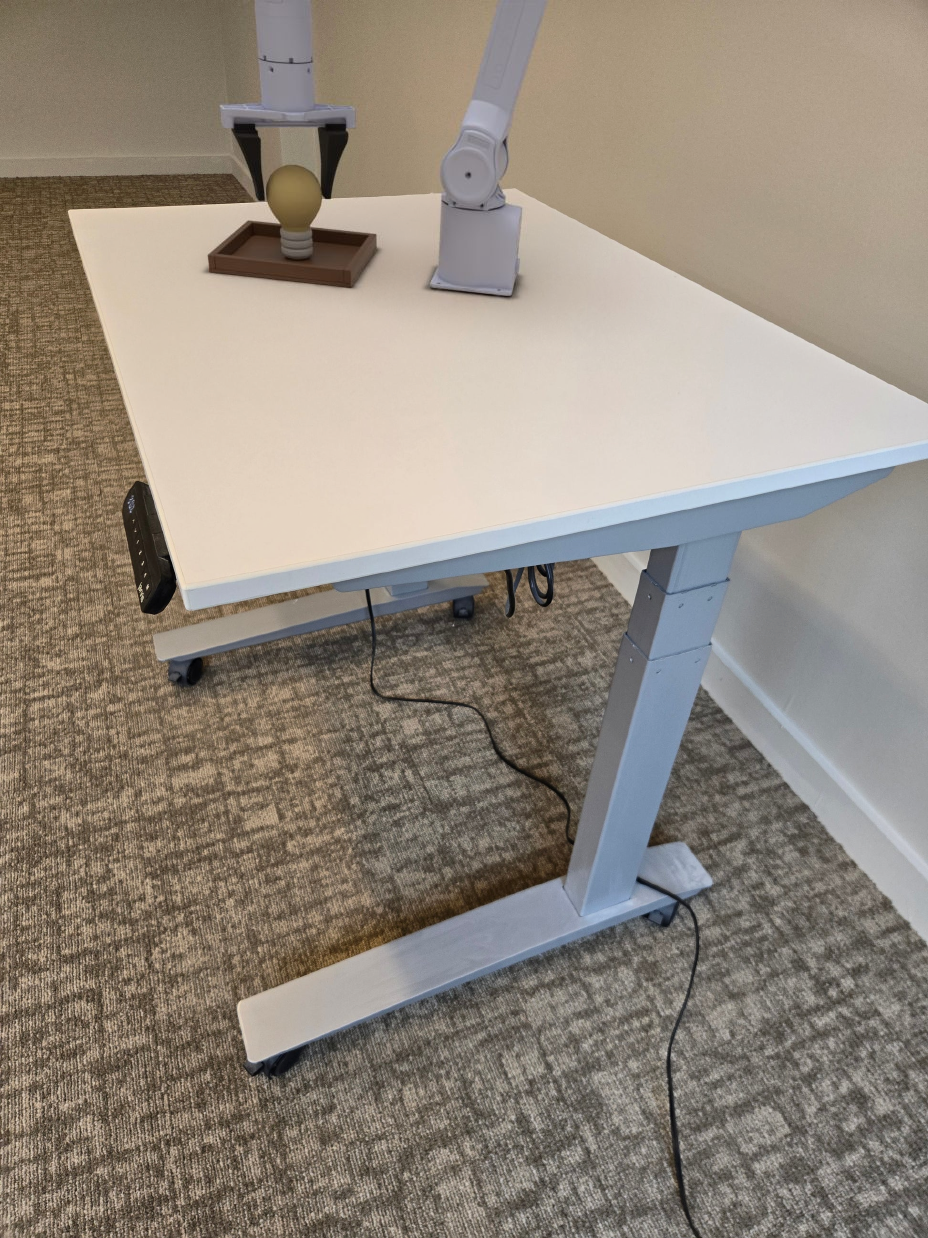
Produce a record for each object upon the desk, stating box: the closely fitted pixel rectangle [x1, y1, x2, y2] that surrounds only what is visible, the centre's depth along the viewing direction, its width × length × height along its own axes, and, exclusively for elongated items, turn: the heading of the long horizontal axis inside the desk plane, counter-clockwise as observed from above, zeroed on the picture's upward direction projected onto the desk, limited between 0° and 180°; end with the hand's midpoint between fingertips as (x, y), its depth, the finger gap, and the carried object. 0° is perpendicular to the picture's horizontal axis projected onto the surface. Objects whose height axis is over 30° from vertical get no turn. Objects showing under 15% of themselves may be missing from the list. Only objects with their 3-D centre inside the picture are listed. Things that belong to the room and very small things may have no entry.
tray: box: [207, 220, 378, 288], centre depth 104 cm, size 17×15×2 cm
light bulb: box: [265, 164, 323, 259], centre depth 102 cm, size 6×6×10 cm
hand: (293, 197), depth 101 cm, fingers open, 7 cm apart
